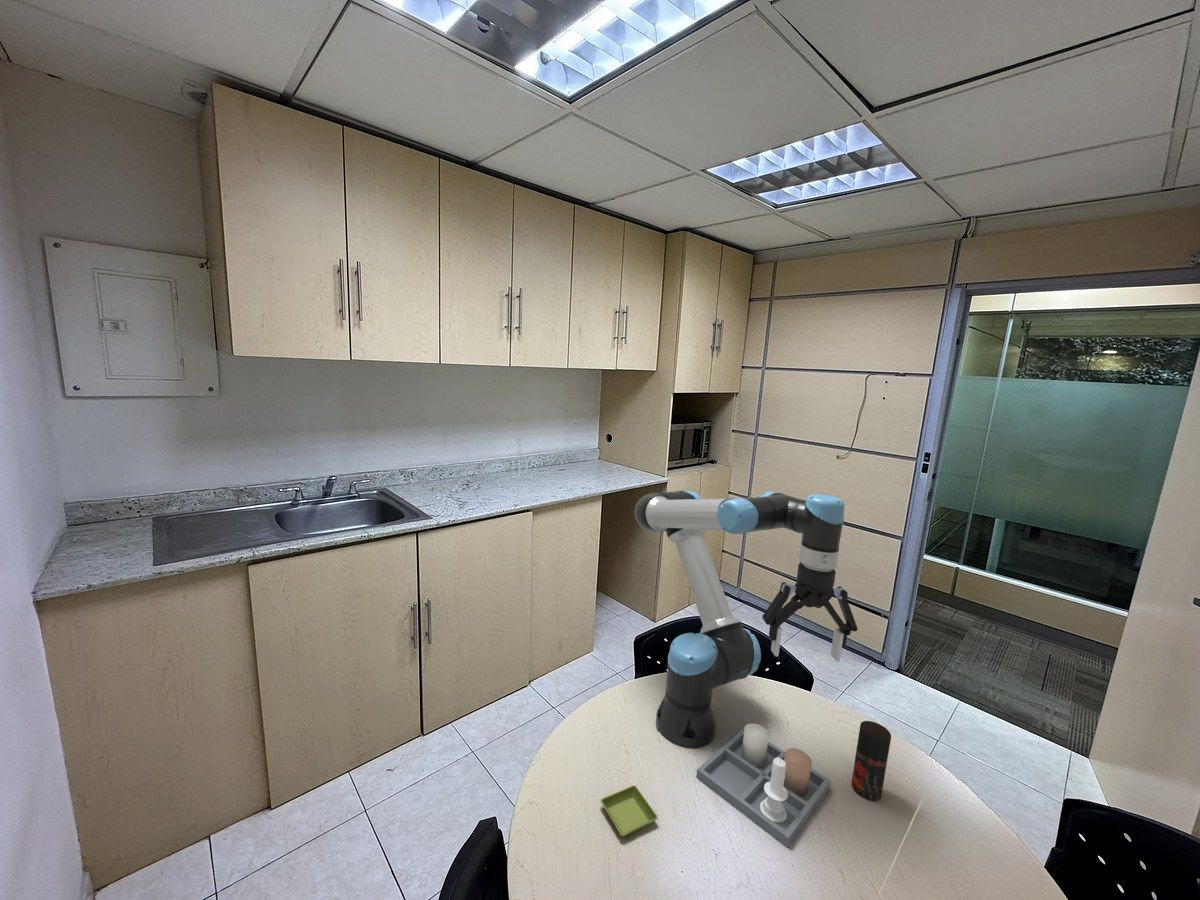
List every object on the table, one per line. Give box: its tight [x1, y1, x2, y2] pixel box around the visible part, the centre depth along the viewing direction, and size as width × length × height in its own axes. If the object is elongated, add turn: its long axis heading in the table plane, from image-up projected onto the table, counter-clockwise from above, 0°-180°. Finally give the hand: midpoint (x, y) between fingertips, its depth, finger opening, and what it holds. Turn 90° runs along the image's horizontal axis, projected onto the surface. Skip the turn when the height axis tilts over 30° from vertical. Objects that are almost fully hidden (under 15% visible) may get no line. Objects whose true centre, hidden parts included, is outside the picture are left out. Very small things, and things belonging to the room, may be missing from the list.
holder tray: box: [695, 727, 832, 848], centre depth 105 cm, size 21×21×2 cm
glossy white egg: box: [741, 723, 770, 768], centre depth 111 cm, size 6×6×7 cm
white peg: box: [760, 757, 788, 823], centre depth 97 cm, size 5×5×12 cm
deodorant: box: [850, 720, 892, 802], centre depth 104 cm, size 6×6×15 cm
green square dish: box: [600, 785, 659, 837], centre depth 95 cm, size 9×9×2 cm
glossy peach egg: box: [783, 747, 813, 797], centre depth 104 cm, size 6×6×7 cm
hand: (804, 655), depth 106 cm, fingers open, 13 cm apart
